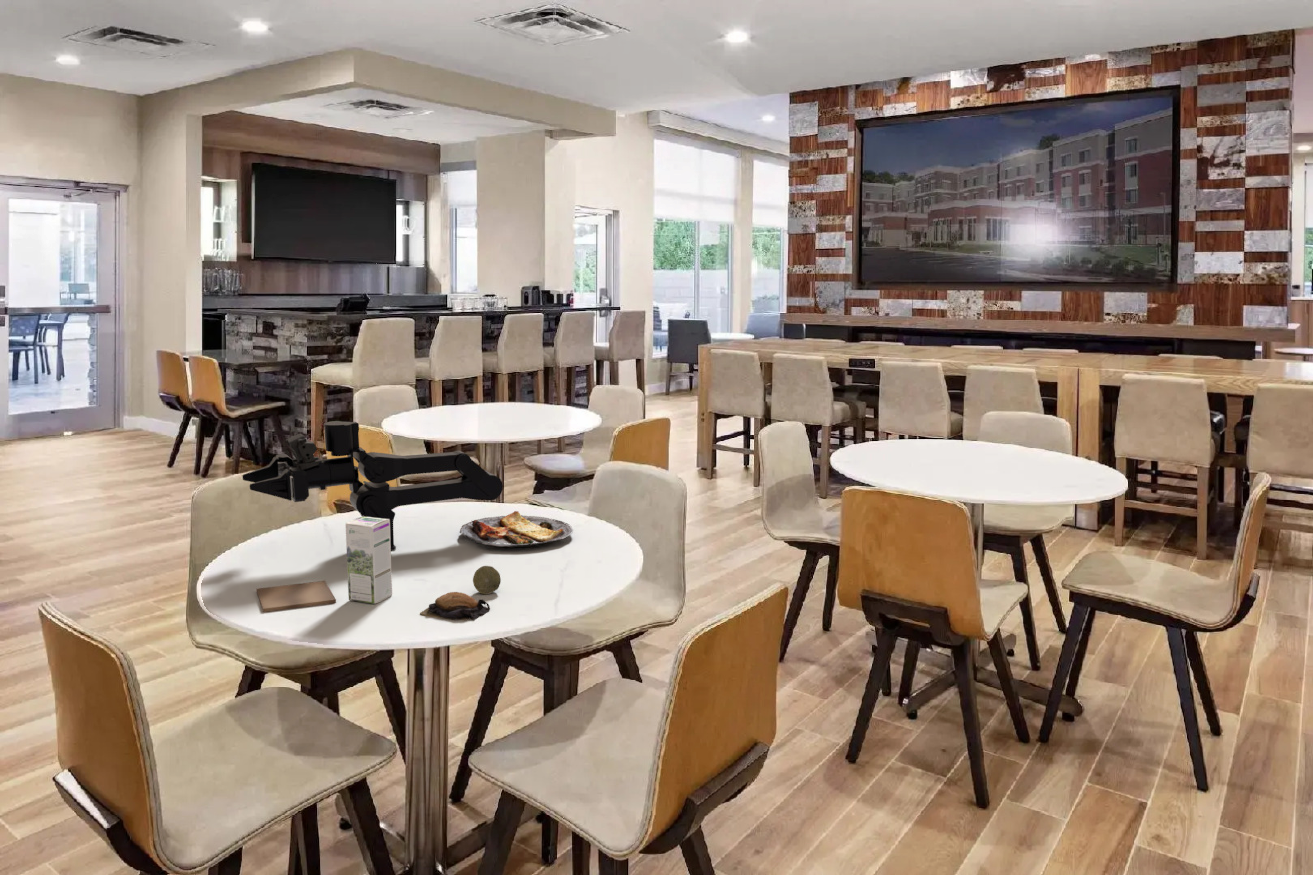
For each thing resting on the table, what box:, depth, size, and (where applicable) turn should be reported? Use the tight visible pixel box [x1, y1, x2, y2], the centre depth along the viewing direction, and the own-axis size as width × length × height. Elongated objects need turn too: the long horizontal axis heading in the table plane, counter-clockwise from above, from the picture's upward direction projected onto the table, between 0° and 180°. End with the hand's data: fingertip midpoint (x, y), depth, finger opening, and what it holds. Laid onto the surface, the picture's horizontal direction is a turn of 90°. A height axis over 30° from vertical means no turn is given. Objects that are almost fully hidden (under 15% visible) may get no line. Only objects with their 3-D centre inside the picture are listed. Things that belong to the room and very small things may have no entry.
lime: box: [472, 565, 502, 595], centre depth 181 cm, size 4×5×5 cm
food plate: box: [459, 510, 574, 548], centre depth 221 cm, size 25×23×4 cm
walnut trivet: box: [256, 580, 337, 613], centre depth 177 cm, size 12×12×1 cm
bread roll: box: [419, 591, 491, 621], centre depth 171 cm, size 11×8×4 cm
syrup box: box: [345, 516, 393, 605], centre depth 176 cm, size 6×6×14 cm
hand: (246, 482), depth 194 cm, fingers open, 9 cm apart
